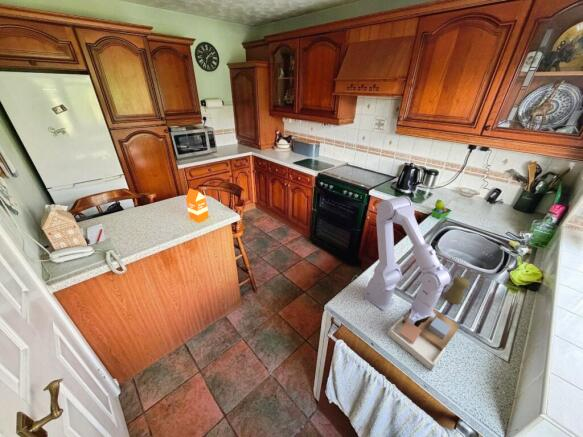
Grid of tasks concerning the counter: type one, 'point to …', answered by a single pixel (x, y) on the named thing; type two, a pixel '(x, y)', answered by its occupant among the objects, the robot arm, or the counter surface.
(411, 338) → the terracotta tile
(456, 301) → the olive lobed plate
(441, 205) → the fruit basket
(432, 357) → the tray
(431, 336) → the oak board
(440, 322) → the slate tile
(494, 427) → the counter surface
